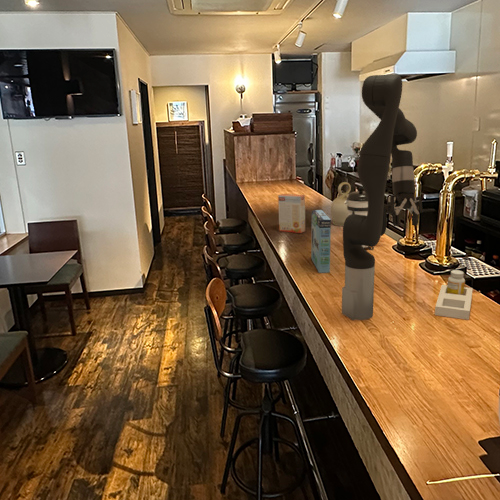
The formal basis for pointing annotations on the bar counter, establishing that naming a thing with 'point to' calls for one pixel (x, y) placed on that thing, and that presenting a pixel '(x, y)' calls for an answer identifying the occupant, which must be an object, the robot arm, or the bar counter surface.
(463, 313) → the bottle caddy
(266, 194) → the bar counter surface
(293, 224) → the cracker box
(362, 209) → the coffee press
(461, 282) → the supplement bottle
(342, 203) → the jug
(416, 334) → the bar counter surface
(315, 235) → the gum box
